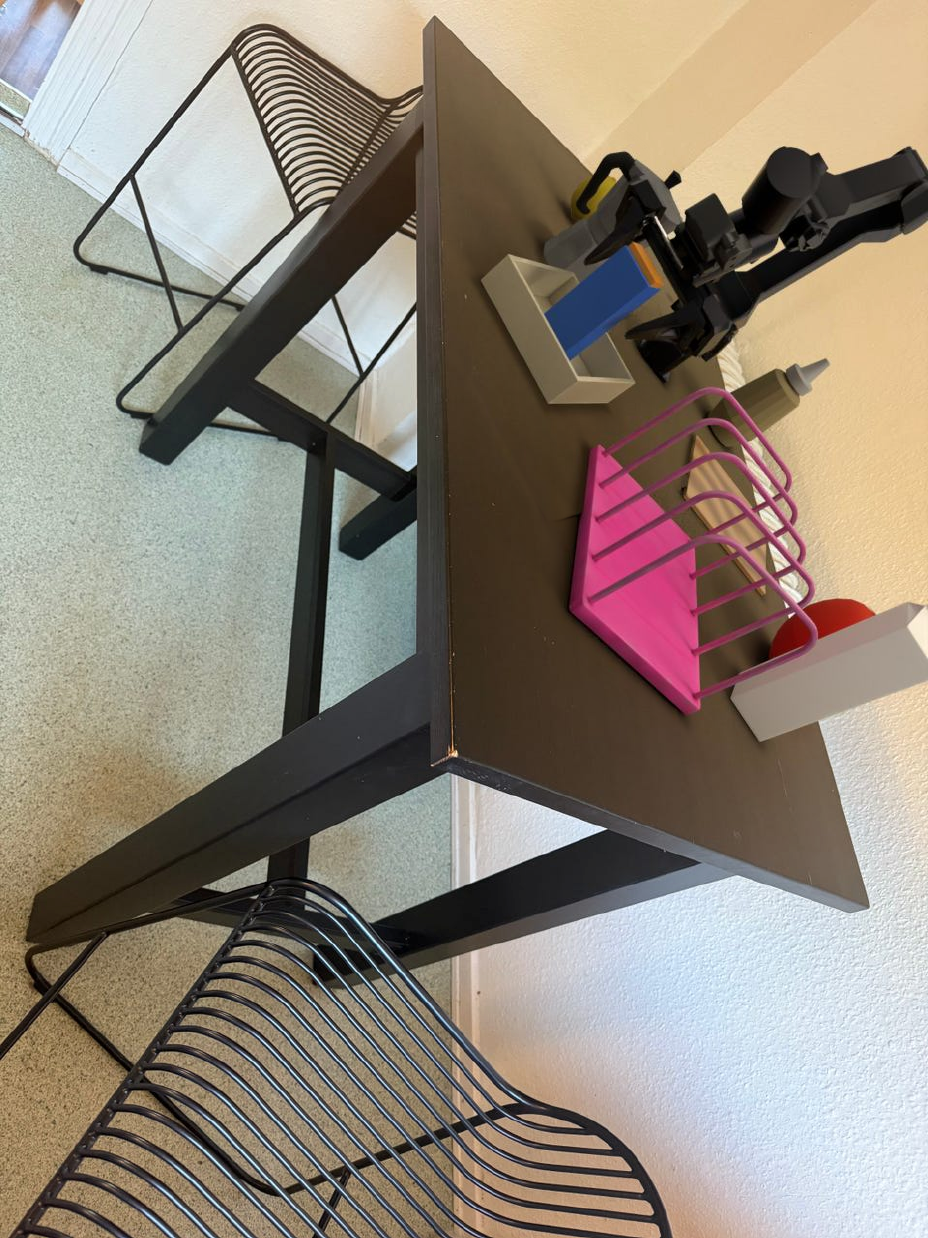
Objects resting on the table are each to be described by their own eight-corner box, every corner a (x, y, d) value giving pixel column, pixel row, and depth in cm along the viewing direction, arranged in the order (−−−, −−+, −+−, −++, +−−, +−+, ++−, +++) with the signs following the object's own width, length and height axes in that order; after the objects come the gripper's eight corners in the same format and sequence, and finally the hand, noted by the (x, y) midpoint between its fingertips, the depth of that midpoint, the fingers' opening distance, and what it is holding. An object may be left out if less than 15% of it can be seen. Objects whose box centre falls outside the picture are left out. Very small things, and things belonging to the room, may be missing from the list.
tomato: (801, 740, 98) (923, 696, 89) (747, 678, 94) (869, 627, 86) (796, 669, 107) (906, 624, 99) (747, 611, 103) (857, 559, 95)
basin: (544, 297, 100) (573, 271, 97) (604, 405, 98) (635, 383, 96) (476, 283, 87) (508, 253, 85) (544, 406, 86) (578, 380, 84)
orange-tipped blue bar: (545, 326, 94) (643, 244, 86) (565, 364, 94) (666, 285, 86) (530, 324, 91) (630, 239, 83) (551, 363, 91) (654, 281, 83)
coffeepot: (585, 275, 114) (697, 181, 104) (600, 324, 110) (718, 231, 99) (511, 214, 104) (627, 102, 93) (525, 265, 100) (648, 154, 89)
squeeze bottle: (733, 440, 132) (841, 374, 121) (730, 461, 126) (844, 393, 115) (704, 401, 130) (812, 330, 119) (700, 420, 123) (813, 347, 113)
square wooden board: (693, 436, 118) (696, 434, 118) (763, 527, 123) (766, 525, 123) (682, 496, 104) (686, 494, 104) (761, 596, 109) (765, 594, 109)
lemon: (583, 240, 120) (627, 200, 116) (558, 210, 118) (602, 169, 113) (584, 225, 124) (627, 187, 120) (561, 196, 122) (603, 156, 117)
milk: (738, 672, 93) (939, 585, 80) (767, 715, 93) (972, 636, 81) (728, 699, 88) (942, 610, 75) (759, 744, 89) (976, 664, 76)
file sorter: (681, 550, 96) (807, 481, 87) (684, 718, 79) (843, 653, 69) (586, 451, 89) (712, 364, 80) (566, 611, 72) (725, 523, 62)
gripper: (714, 118, 83) (582, 173, 81) (806, 275, 82) (674, 337, 79) (675, 190, 94) (557, 241, 92) (755, 330, 93) (637, 386, 90)
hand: (605, 298), depth 88 cm, fingers open, 9 cm apart
